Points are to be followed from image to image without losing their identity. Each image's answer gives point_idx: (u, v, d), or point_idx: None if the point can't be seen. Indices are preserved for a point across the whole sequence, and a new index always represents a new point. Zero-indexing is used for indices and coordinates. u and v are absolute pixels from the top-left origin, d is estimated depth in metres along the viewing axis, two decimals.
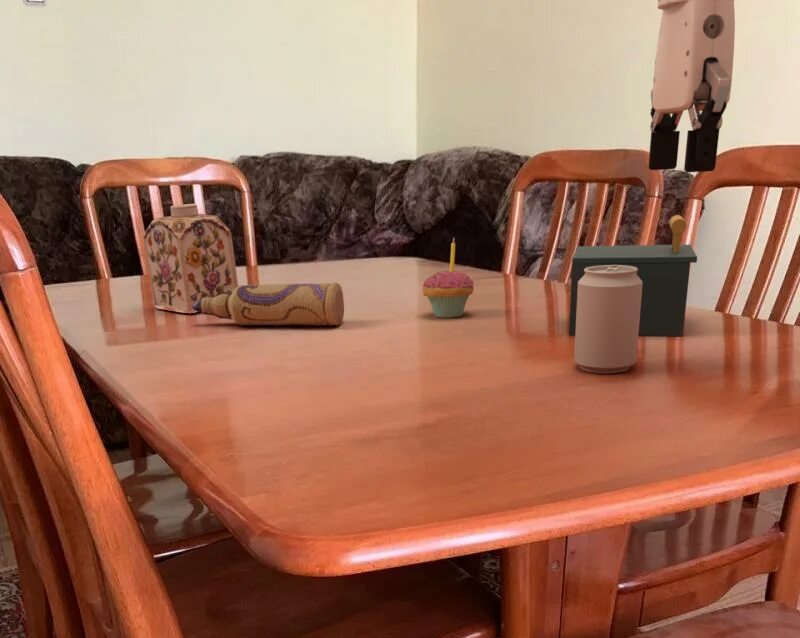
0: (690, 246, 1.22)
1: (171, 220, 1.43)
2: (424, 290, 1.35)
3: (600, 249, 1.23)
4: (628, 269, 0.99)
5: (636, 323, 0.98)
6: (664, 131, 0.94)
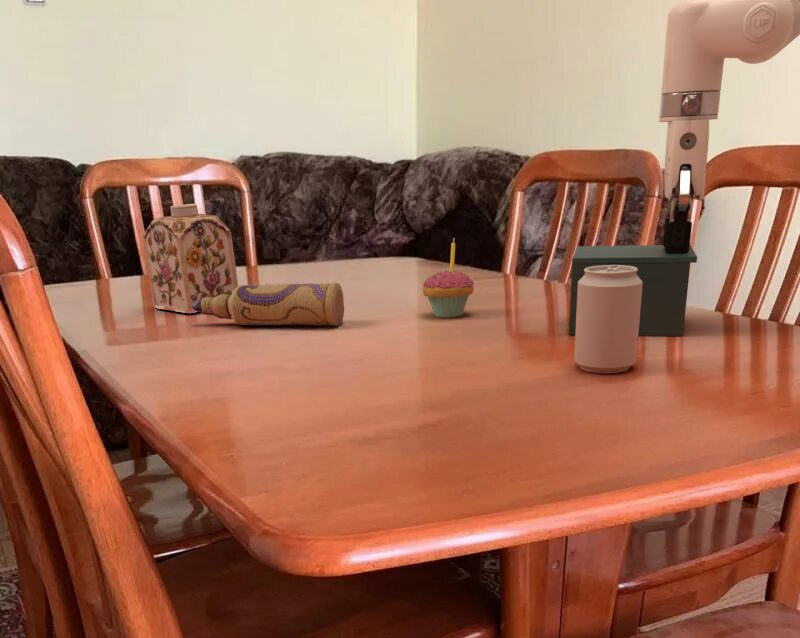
0: (690, 246, 1.22)
1: (171, 220, 1.43)
2: (424, 290, 1.35)
3: (600, 249, 1.23)
4: (628, 269, 0.99)
5: (636, 323, 0.98)
6: None
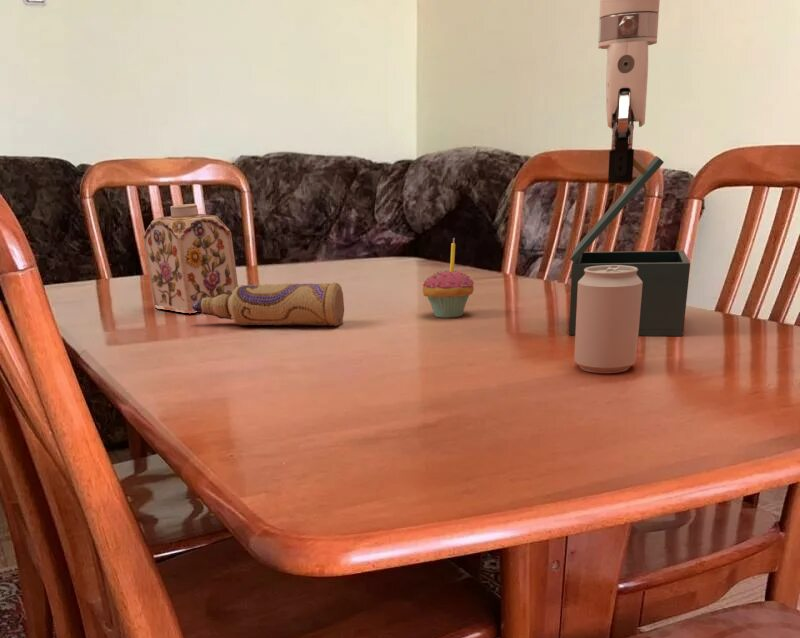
0: (656, 156, 1.18)
1: (171, 220, 1.43)
2: (424, 290, 1.35)
3: (590, 231, 1.22)
4: (628, 269, 0.99)
5: (636, 323, 0.98)
6: None
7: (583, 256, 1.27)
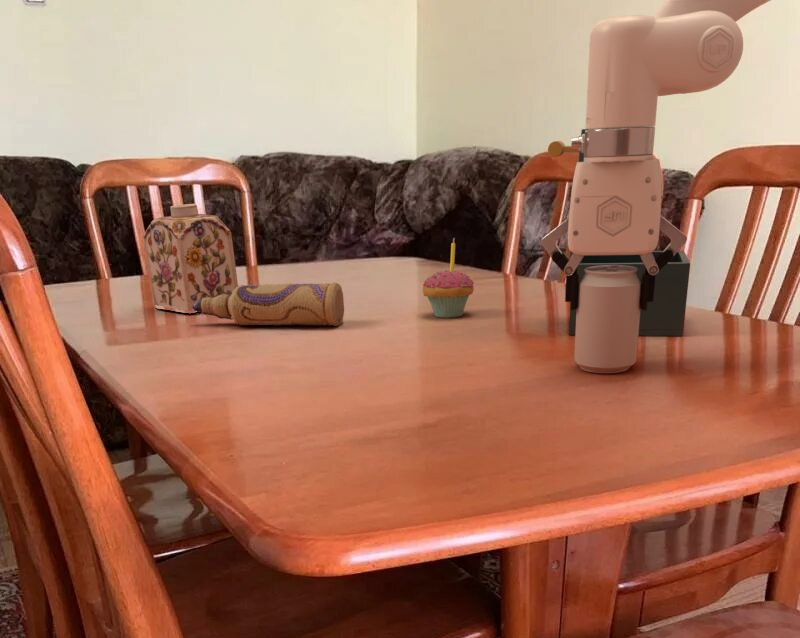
0: None
1: (171, 220, 1.43)
2: (424, 290, 1.35)
3: None
4: (628, 269, 0.99)
5: (636, 323, 0.98)
6: (644, 273, 0.97)
7: None
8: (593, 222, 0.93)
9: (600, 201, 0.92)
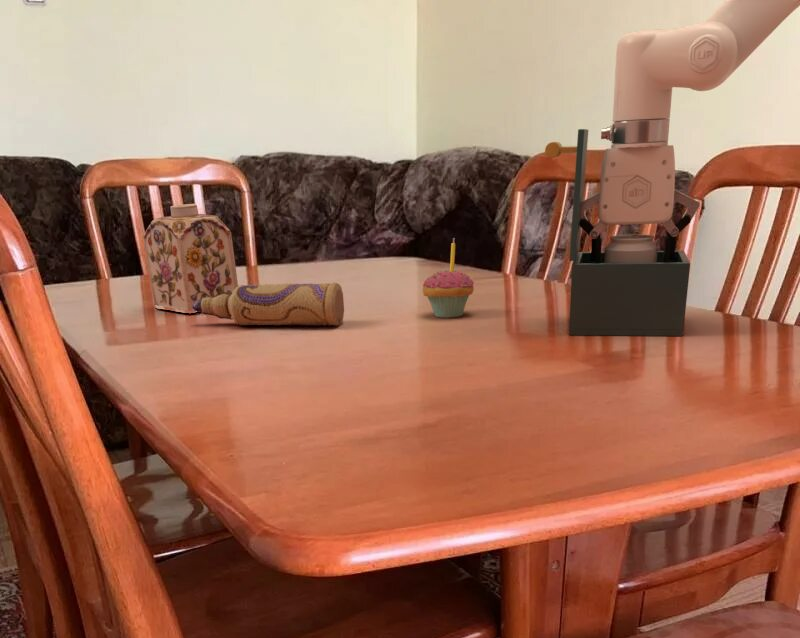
0: None
1: (171, 220, 1.43)
2: (424, 290, 1.35)
3: None
4: (646, 237, 1.20)
5: None
6: (666, 235, 1.18)
7: (583, 256, 1.27)
8: (619, 197, 1.14)
9: (625, 180, 1.13)
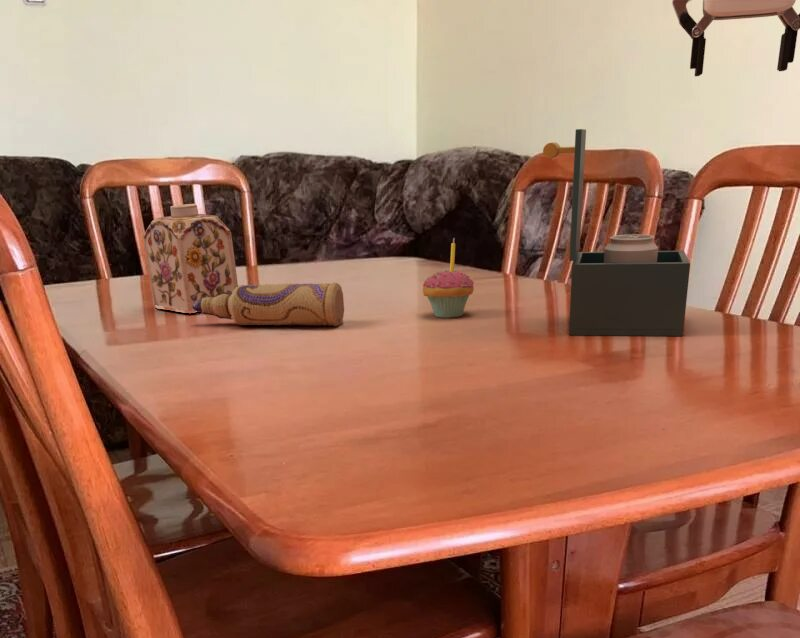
0: None
1: (171, 220, 1.43)
2: (424, 290, 1.35)
3: None
4: (646, 237, 1.20)
5: None
6: (785, 32, 0.98)
7: (583, 256, 1.27)
8: None
9: None
